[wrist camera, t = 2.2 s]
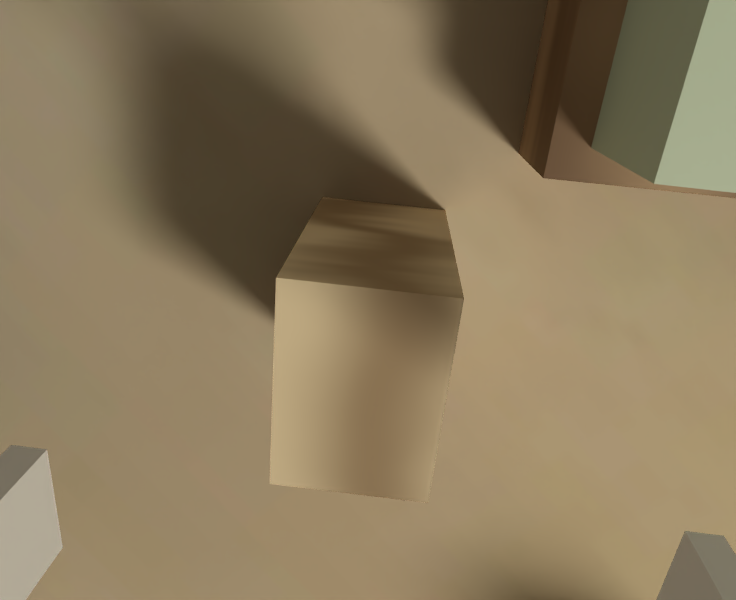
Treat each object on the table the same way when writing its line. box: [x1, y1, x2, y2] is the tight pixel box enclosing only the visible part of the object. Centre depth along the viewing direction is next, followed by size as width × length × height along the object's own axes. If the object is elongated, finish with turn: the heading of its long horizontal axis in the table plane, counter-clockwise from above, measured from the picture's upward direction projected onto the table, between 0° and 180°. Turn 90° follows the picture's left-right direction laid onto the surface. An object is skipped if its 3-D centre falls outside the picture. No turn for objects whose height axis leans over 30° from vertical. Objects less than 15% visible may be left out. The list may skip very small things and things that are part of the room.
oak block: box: [270, 197, 464, 503], centre depth 21 cm, size 5×7×9 cm
